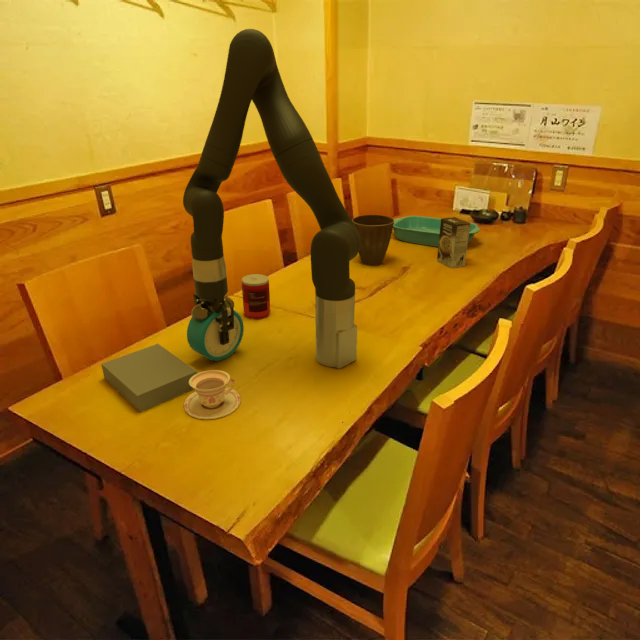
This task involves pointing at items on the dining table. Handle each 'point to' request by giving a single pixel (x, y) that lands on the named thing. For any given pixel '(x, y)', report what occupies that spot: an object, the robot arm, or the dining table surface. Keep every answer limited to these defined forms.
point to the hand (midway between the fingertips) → (216, 338)
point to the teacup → (211, 395)
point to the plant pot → (373, 237)
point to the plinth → (148, 376)
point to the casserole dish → (423, 230)
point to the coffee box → (453, 242)
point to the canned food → (256, 296)
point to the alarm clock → (212, 332)
